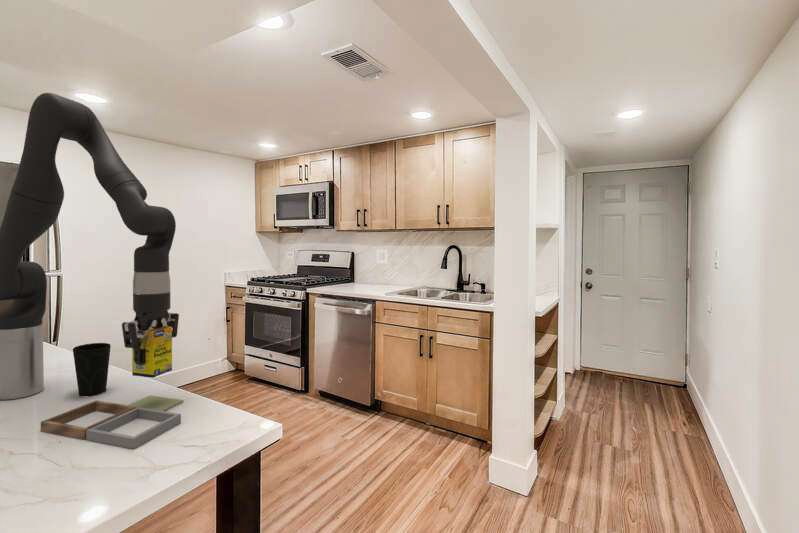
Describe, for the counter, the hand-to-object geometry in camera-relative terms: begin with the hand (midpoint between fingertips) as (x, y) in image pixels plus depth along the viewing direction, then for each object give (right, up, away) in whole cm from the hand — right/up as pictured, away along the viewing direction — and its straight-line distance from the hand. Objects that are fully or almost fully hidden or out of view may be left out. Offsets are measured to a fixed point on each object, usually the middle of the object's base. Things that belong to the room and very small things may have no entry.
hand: (152, 360), depth 94 cm
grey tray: (+4, -12, -12) cm, 17 cm away
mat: (0, -11, +1) cm, 11 cm away
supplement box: (0, -3, 0) cm, 3 cm away
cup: (-20, -10, +8) cm, 24 cm away
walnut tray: (-8, -11, -9) cm, 16 cm away
